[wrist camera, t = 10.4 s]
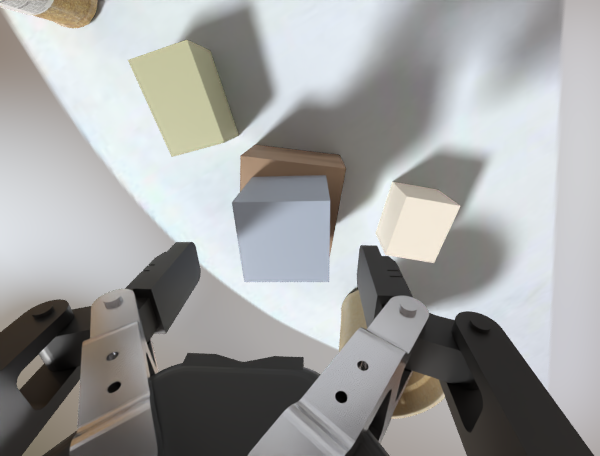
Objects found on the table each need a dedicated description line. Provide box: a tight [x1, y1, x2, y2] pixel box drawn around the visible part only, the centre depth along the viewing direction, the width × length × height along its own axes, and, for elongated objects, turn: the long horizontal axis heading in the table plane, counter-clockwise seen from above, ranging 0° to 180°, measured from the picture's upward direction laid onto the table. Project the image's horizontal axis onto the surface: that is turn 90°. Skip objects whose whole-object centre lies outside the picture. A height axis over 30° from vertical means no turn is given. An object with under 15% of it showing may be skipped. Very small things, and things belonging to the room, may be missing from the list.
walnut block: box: [240, 145, 346, 257], centre depth 21 cm, size 7×7×5 cm
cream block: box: [376, 182, 460, 263], centre depth 22 cm, size 5×4×4 cm
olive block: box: [128, 40, 239, 157], centre depth 19 cm, size 6×4×4 cm, turn 15°
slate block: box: [232, 175, 330, 282], centre depth 17 cm, size 5×5×5 cm
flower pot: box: [339, 289, 445, 419], centre depth 25 cm, size 9×9×9 cm
